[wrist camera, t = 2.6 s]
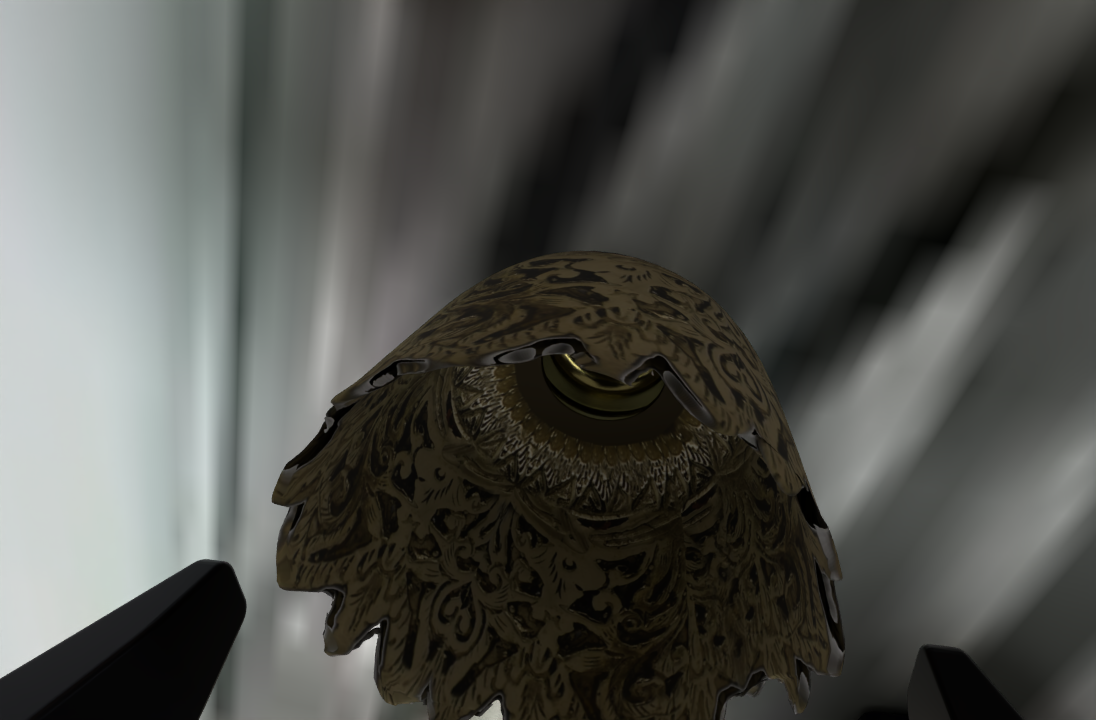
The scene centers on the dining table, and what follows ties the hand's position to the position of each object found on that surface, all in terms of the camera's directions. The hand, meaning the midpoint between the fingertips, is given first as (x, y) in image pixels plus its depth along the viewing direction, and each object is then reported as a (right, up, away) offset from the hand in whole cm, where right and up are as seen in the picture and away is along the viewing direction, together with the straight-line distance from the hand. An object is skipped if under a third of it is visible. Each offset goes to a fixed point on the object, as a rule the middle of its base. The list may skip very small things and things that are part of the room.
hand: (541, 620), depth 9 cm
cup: (+2, +4, +7) cm, 8 cm away
